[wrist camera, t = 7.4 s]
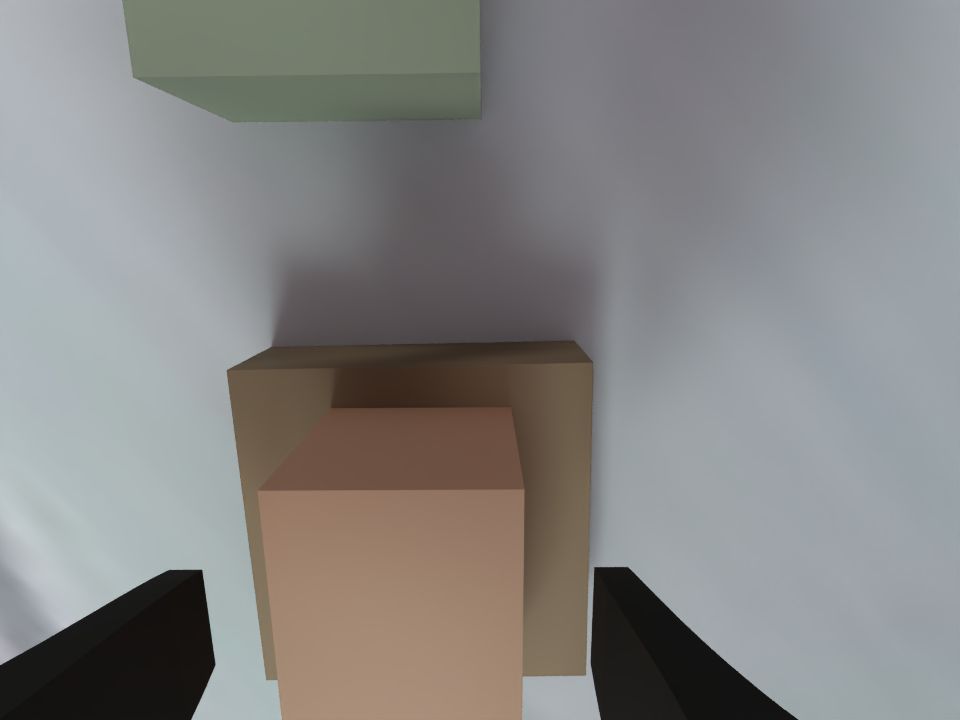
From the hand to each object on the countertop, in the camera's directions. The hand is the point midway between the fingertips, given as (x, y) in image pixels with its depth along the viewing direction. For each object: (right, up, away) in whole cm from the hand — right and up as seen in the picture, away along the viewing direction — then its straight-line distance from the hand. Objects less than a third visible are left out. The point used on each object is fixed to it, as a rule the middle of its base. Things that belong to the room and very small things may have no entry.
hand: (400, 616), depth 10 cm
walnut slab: (0, +1, +6) cm, 6 cm away
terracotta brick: (0, +1, +3) cm, 3 cm away
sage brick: (-2, +12, +3) cm, 13 cm away
